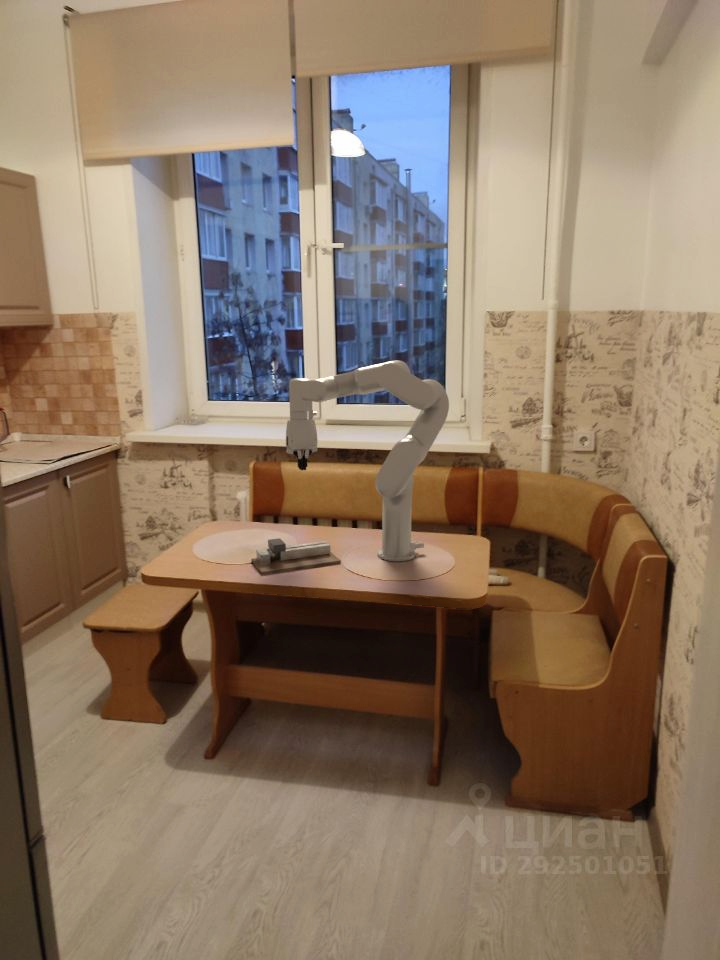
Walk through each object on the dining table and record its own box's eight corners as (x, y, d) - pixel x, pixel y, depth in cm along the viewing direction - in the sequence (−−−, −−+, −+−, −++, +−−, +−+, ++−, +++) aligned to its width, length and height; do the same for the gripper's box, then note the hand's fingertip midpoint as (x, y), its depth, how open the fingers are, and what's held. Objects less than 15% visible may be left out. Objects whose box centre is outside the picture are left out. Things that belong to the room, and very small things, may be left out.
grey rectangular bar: (326, 550, 223) (326, 541, 223) (330, 553, 220) (330, 545, 219) (268, 558, 216) (267, 549, 215) (271, 562, 212) (270, 553, 212)
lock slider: (280, 545, 218) (279, 538, 218) (285, 551, 213) (285, 543, 212) (268, 546, 217) (268, 539, 216) (273, 552, 211) (273, 545, 211)
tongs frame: (324, 549, 225) (324, 540, 224) (331, 555, 220) (331, 545, 219) (256, 559, 216) (256, 549, 215) (261, 565, 211) (261, 555, 210)
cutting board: (326, 551, 226) (326, 548, 226) (340, 563, 215) (340, 560, 215) (251, 561, 217) (251, 558, 216) (261, 575, 205) (261, 572, 205)
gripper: (318, 413, 229) (319, 465, 233) (276, 415, 223) (278, 469, 227) (326, 415, 222) (327, 469, 226) (282, 418, 216) (284, 473, 220)
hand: (302, 469), depth 227 cm, fingers closed
